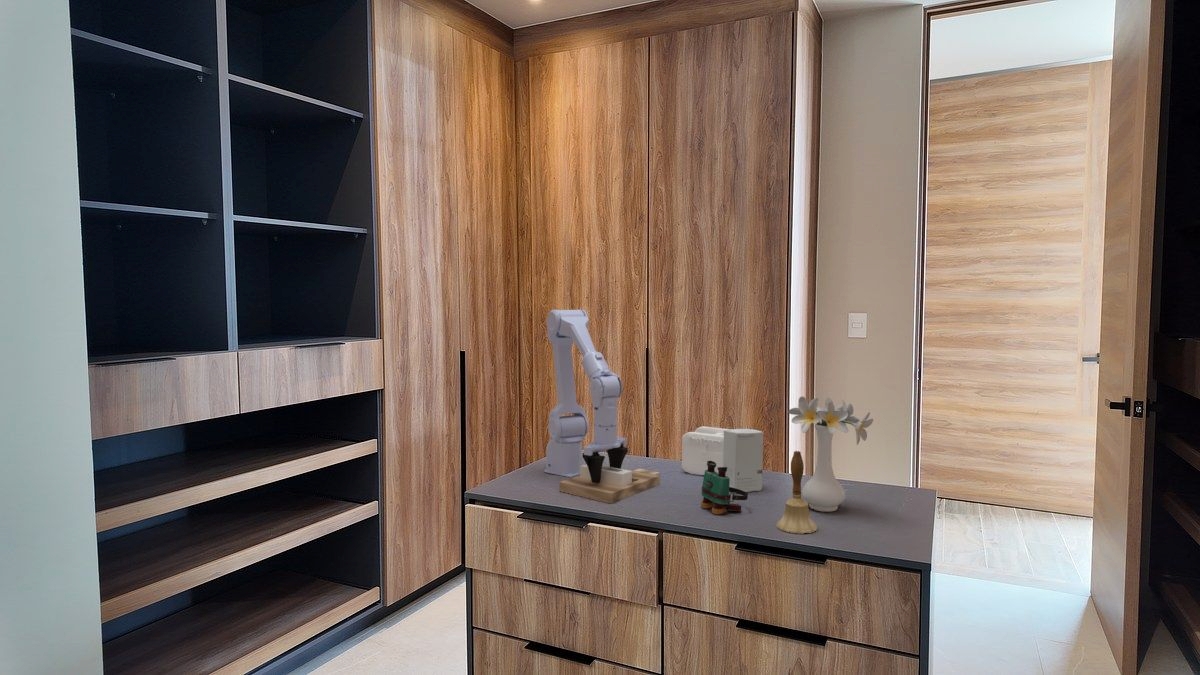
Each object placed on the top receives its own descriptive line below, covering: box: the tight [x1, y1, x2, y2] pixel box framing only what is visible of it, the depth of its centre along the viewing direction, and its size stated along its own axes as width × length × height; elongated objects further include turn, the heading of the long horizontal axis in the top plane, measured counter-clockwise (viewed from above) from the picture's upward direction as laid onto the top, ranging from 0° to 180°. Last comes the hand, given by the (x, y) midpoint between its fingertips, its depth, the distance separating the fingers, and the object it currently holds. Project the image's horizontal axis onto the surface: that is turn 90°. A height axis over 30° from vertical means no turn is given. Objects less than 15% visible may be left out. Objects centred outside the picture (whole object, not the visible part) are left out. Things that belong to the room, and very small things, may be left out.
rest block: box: [633, 468, 661, 480], centre depth 184 cm, size 6×3×2 cm, turn 52°
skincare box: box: [723, 428, 764, 494], centre depth 175 cm, size 8×6×15 cm
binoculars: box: [700, 461, 749, 515], centre depth 159 cm, size 9×11×10 cm
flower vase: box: [787, 396, 874, 513], centre depth 159 cm, size 13×18×25 cm
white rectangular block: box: [579, 463, 633, 487], centre depth 174 cm, size 13×4×5 cm, turn 52°
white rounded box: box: [681, 425, 730, 476], centre depth 190 cm, size 15×11×12 cm
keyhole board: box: [559, 465, 660, 504], centre depth 175 cm, size 20×16×2 cm
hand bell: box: [775, 450, 818, 535], centre depth 146 cm, size 8×8×16 cm
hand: (605, 479), depth 174 cm, fingers open, 7 cm apart
